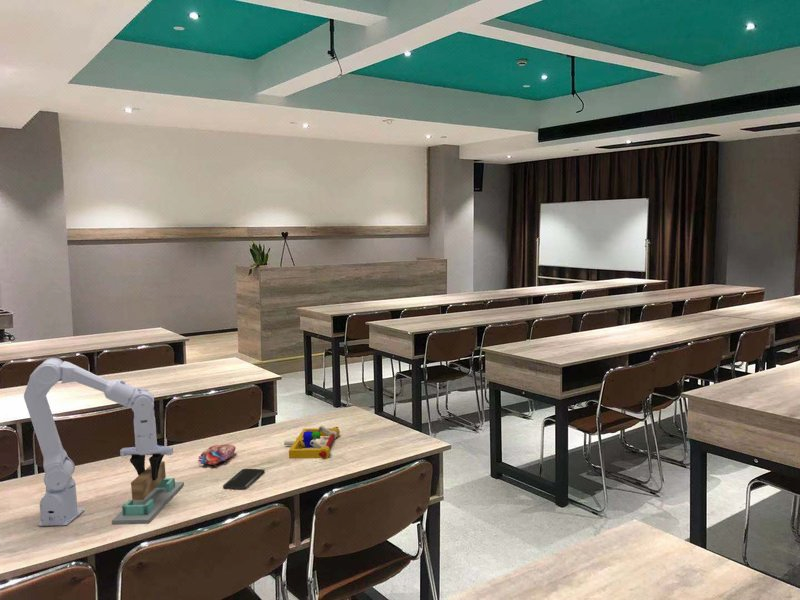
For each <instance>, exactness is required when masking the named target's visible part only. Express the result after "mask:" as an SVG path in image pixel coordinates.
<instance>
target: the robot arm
mask: <svg viewBox="0 0 800 600" xmlns="http://www.w3.org/2000/svg"><path fill="white" fill-rule="evenodd" d="M60 380H61V384H63V385H64V384H68V383H72V382H75V383H78V384H80V385H81V384H82V385H84V386H86V387H89V388H91V389H94V390H96V391H100V392H102V393H103V394H104V396H105V399H106V400H109V401H112V402H114V403H116V404H119V405H121V406H124V407H125V408H131V410H132V412H133V432H134V444H135V446H132V447H131V446H130V447H122V448H121V449H120V450H119V453H120V457H123V458H124V457H125V456H128V457H131V458H130V459H129V462H130V463H131V464H132V466H133V468H134V469H135V471H136V472H137V477H138V476H139V475H140V474H141V473H142V472H143V471H145V470H146V467H145V465H146V464H145V463H146V456H150V457H149V458H148V461H149V463H150V464H149V466H150V465H151V470H152V480H156V479H157V478H158V471H159V467H160V464H161V461H163V458H164V456H165V455H167V456H171V455H173V454H174V446H166V445H158V441H157V425H156V417H155V416H156V415H155V408H154V407H155V403H154V402H155V397H154V394H152V392H151V391H149V390H147V389H142V387H135V386H133V385H130V384H129V383H126V380H125V379H120V380H118V379H114V380H108V379H105V378H103V377H100V376H99V375H97V374H94V373H93V372H91V371H88V370H86V369H85V368H82V367H80V366H79V365H76V364H73V363H72V362H70V361H66V360H64V361H63V360H62V359H60V358H57V357H50V358H47V359H45V360H43V362H42V363H41V364H40V365H38V366H37V367H35V369H34V370H33V372H32V373H31V374H30V375H29V379H28V382H27V384H26V385H27V386H26V388H25V391H24V393H23V398H24V399H23V400H24V403H25V405H26V408H27V411H28V415H29V417H30V420H31V423H32V426H33V430H34V433H35V435H36V439H37V442H38V445H39V447H40V448H39V449H40V451H41V454H42V457H43V463H42V464H43V470H44V475H43V476H44V477H43V483H44V485H45V494H44V495H43V497H42V498H41V499H40V501H39V511H40V514H39V515H40V522H39V523H38V527H42V526H45V527H49V526H51V527H53V526H67V525H69V524H70V523H71V522H73V521H74V520H75V519H76V518H78V517H79V516H80V515H81V514H82V513H83V512H84V511H85V508H79V507H78V498H77V488H76V480H75V479H74V478H73V474H74V472H75V470H76V469H75V468H76V466H75V463H74V461H73V460H72V459H71V458H70V457H69V456H68V454H67V451H66V450H65V449H64V447H63V444H62V441H61V438H60V435H59V432H58V429H57V424H56V422H55V419H54V416H53V413H52V410H51V407H50V404H49V401H48V397H47V394H48V393H49V391H50V390H51V389H52V387H54V386H56V384H58V383H59V381H60Z"/></svg>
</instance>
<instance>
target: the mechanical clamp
mask: <svg viewBox="0 0 800 600" xmlns="http://www.w3.org/2000/svg"><path fill="white" fill-rule="evenodd" d="M340 433H341V431H340V429H339V426H334V427H332V428H331V427H325V426H323V425H321V424H320V426H319V427H317V428H315V427H314V428H303V429H302V431H301V432H300V433H299V435H298V436H297V437H296V438H295V440H284V442H283V445H284V446H290V448H289V449H288V459H328V457H330V453H331V449H330V447H331V445H332V443H333V441H334V440H335V439H337V438H338V437H339V435H340ZM320 436H329V437H328V440H327V442H326V444H325V445H324V444H323V443H320V442H318V441H316V440H320V439H321V437H320ZM336 437H337V438H336ZM300 447H305V448H300Z"/></svg>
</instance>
